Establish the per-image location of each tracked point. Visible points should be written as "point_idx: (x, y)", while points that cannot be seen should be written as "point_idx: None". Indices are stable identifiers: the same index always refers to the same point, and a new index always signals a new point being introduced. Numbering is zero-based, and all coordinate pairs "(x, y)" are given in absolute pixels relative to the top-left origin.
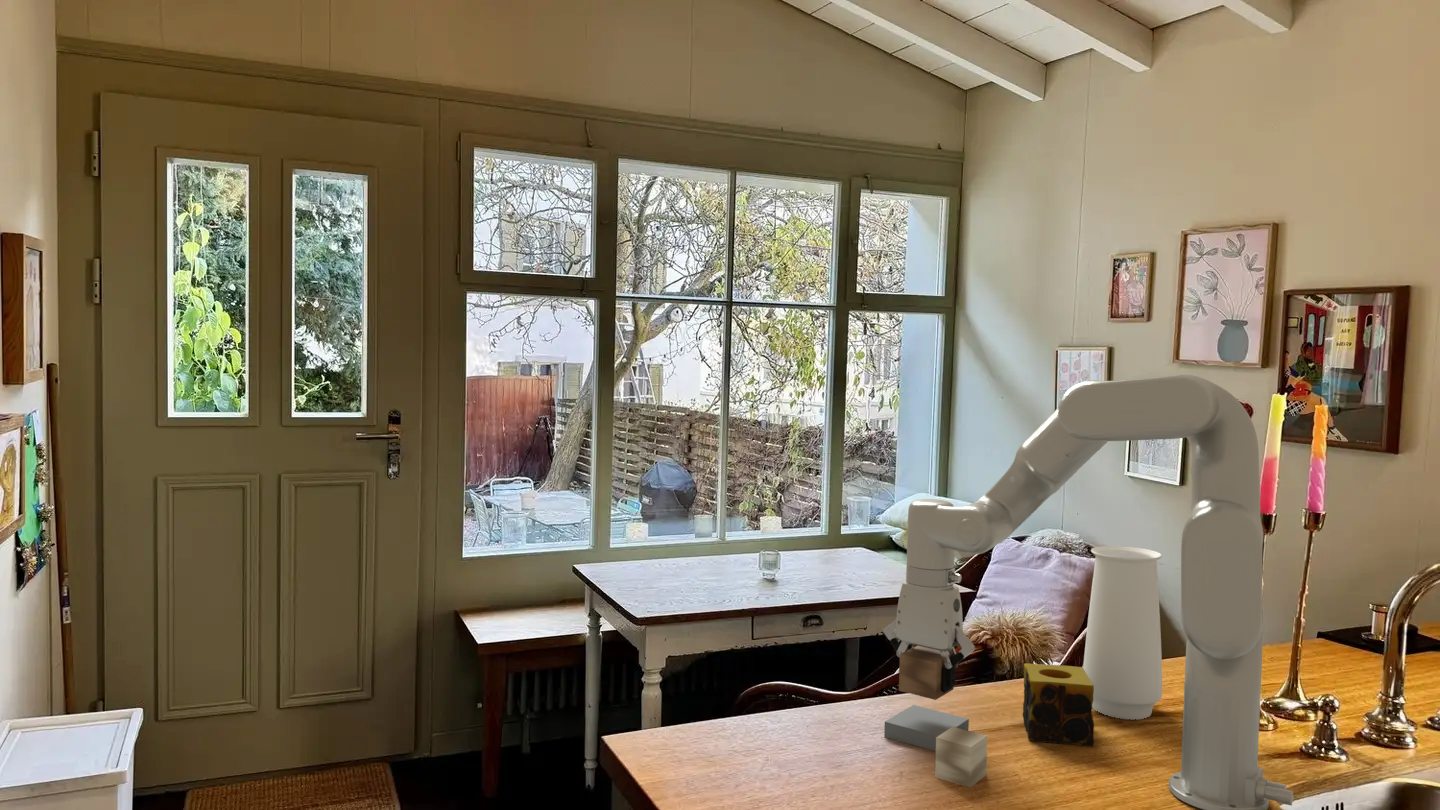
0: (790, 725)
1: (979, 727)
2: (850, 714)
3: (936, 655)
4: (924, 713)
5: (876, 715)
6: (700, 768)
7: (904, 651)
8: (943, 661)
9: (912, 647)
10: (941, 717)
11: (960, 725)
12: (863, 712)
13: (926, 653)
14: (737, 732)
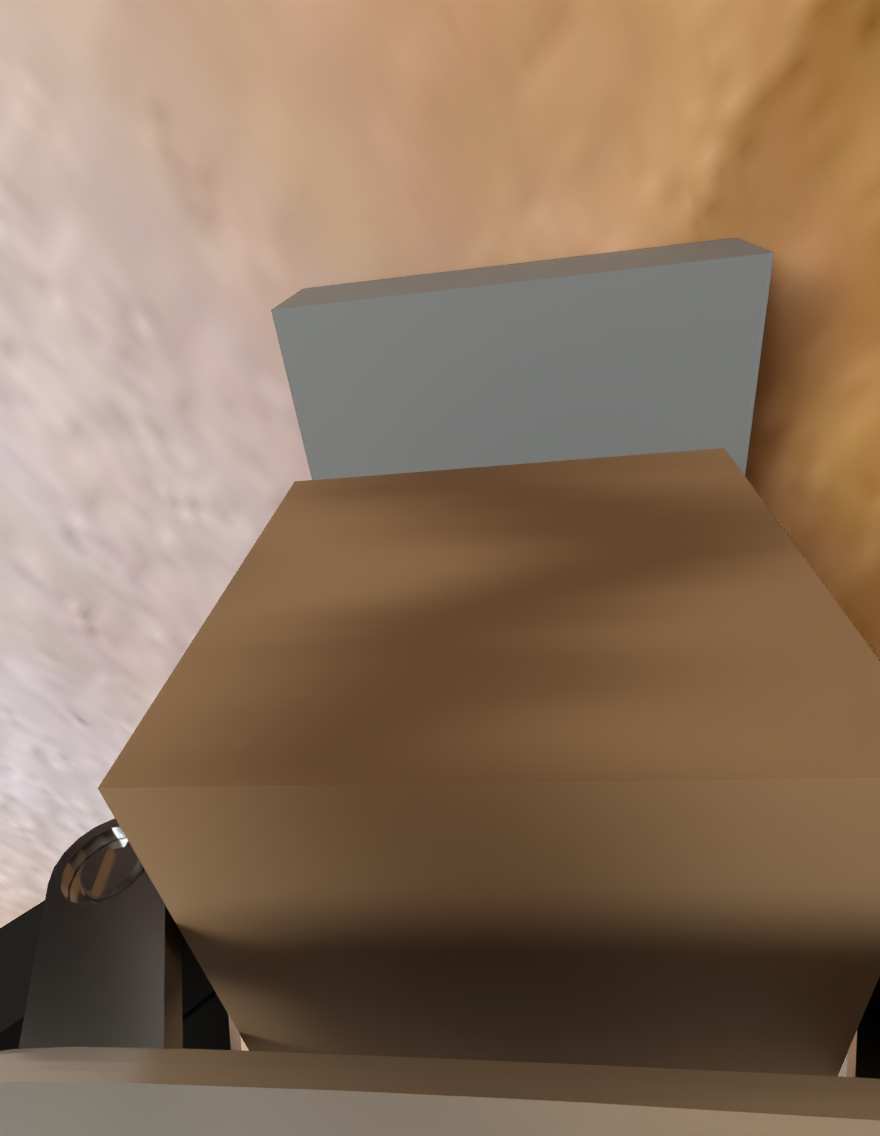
0: (44, 750)
1: (770, 8)
2: (41, 495)
3: (678, 1000)
4: (441, 412)
5: (123, 404)
6: None
7: (238, 1048)
8: (851, 1050)
9: (168, 932)
10: (576, 392)
11: (750, 409)
12: (45, 419)
13: (501, 998)
14: (24, 872)
